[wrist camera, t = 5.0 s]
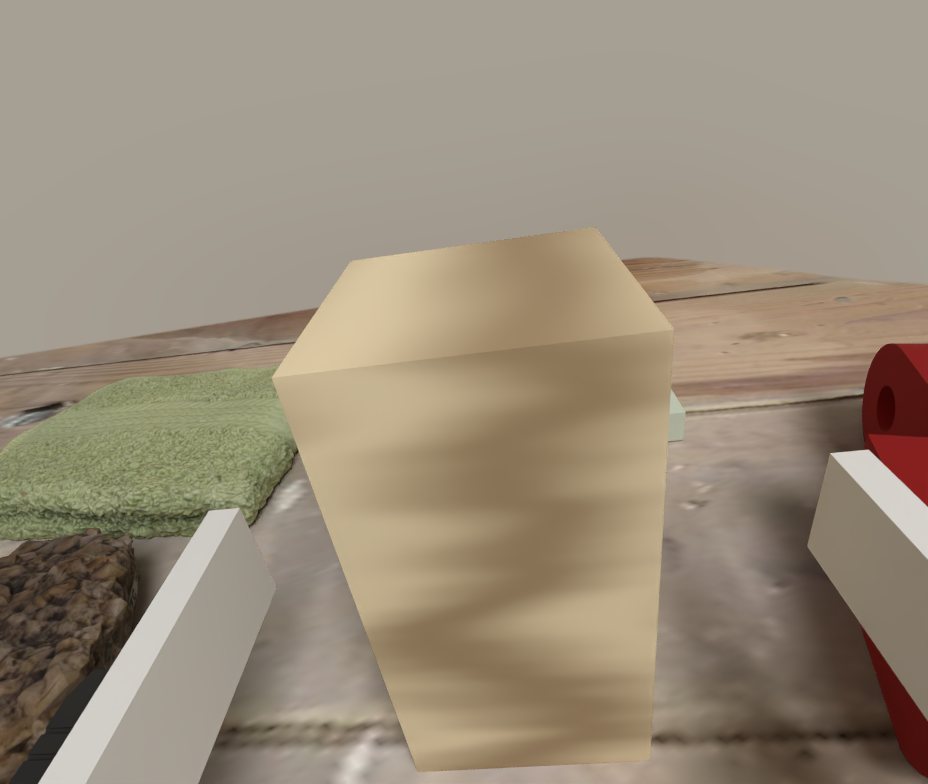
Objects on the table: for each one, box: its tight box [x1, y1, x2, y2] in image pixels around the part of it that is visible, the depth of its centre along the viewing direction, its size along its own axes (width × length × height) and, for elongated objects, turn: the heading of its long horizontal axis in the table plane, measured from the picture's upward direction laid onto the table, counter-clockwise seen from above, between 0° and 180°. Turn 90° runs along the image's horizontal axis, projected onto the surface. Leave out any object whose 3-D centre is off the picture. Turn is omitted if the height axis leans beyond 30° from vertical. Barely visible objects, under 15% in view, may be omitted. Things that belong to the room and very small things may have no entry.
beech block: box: [272, 227, 674, 772], centre depth 14 cm, size 6×6×12 cm
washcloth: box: [0, 365, 298, 540], centre depth 29 cm, size 13×18×3 cm
